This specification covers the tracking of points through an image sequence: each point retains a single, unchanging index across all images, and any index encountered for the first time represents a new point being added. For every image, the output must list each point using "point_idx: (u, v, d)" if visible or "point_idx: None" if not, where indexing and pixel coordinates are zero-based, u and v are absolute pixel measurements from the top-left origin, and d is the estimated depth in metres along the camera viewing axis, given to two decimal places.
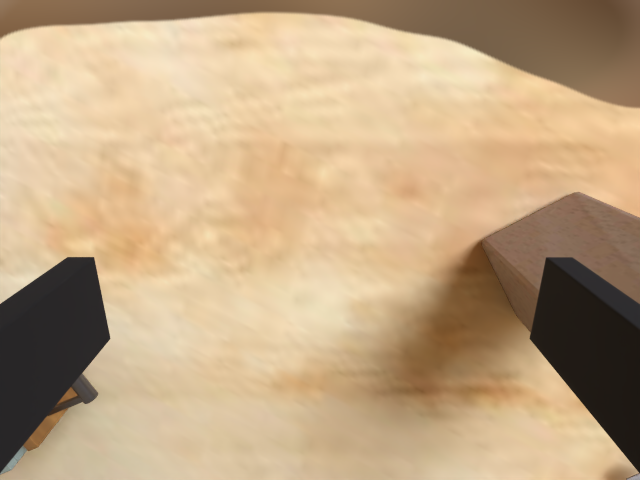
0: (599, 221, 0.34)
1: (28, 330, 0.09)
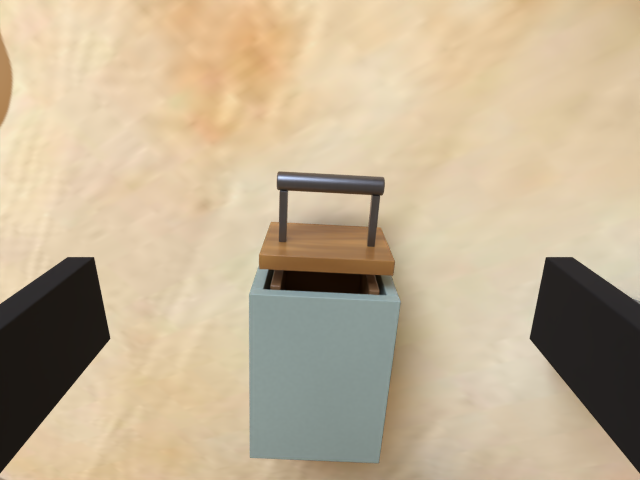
0: None
1: (28, 330, 0.09)
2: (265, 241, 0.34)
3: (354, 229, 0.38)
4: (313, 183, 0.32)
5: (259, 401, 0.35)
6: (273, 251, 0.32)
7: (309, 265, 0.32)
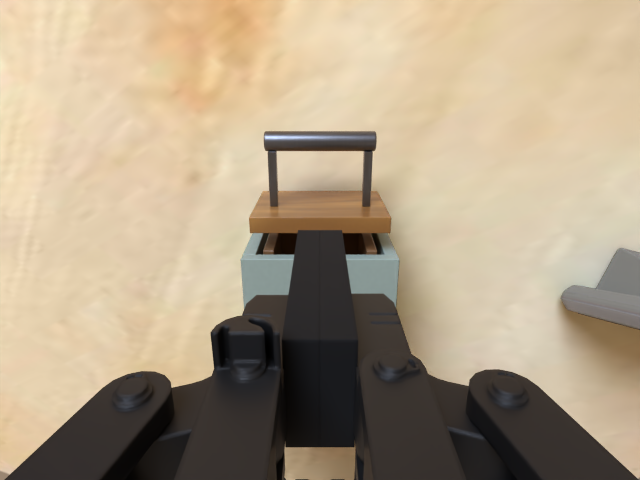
0: None
1: None
2: (256, 206, 0.33)
3: (349, 193, 0.36)
4: (302, 140, 0.30)
5: None
6: (264, 214, 0.31)
7: (302, 226, 0.30)
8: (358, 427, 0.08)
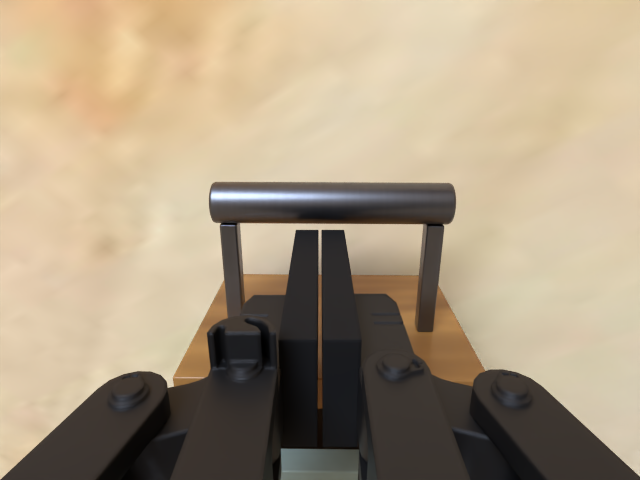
0: None
1: None
2: (200, 330, 0.16)
3: (383, 283, 0.20)
4: (292, 205, 0.14)
5: None
6: None
7: None
8: (362, 427, 0.08)
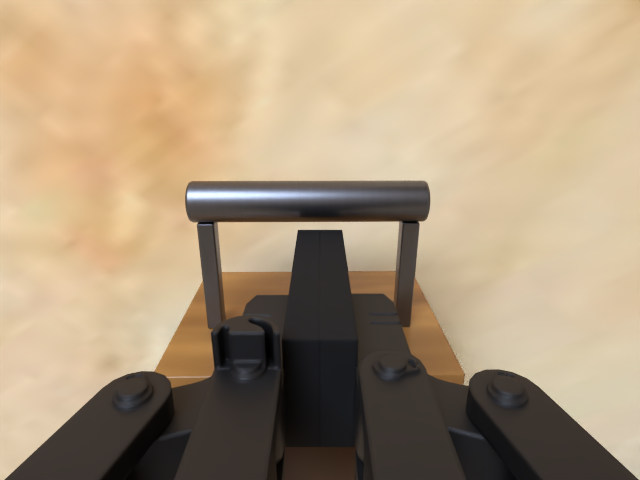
0: None
1: None
2: (179, 329, 0.16)
3: (363, 279, 0.20)
4: (269, 204, 0.14)
5: None
6: (189, 361, 0.14)
7: None
8: (358, 427, 0.08)
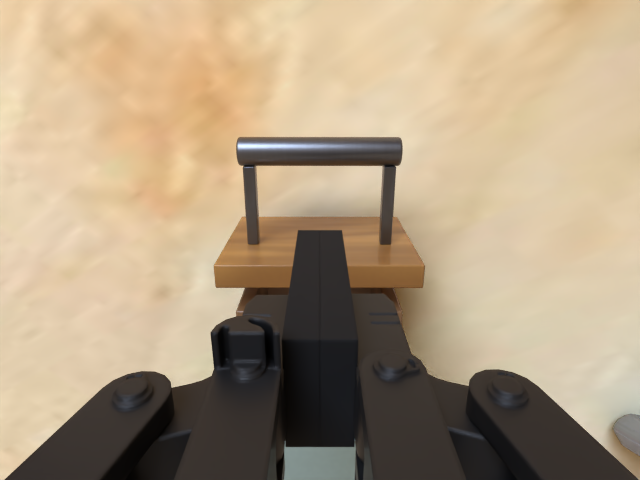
0: None
1: None
2: (227, 244, 0.23)
3: (359, 221, 0.27)
4: (293, 151, 0.21)
5: None
6: (237, 259, 0.21)
7: None
8: (358, 427, 0.08)
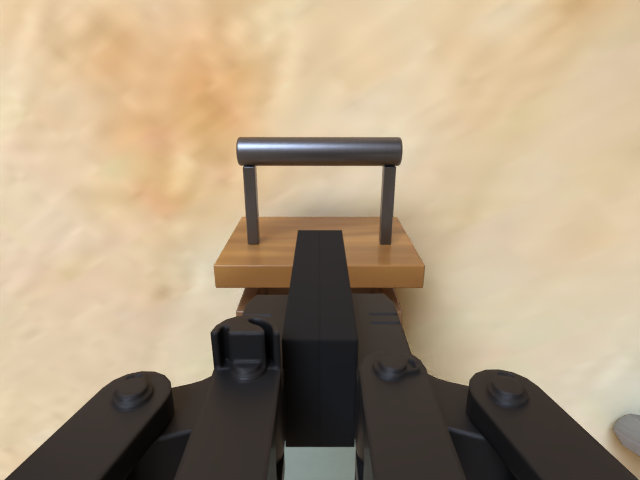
0: None
1: None
2: (227, 244, 0.23)
3: (359, 221, 0.27)
4: (292, 151, 0.21)
5: None
6: (237, 259, 0.21)
7: None
8: (358, 427, 0.08)
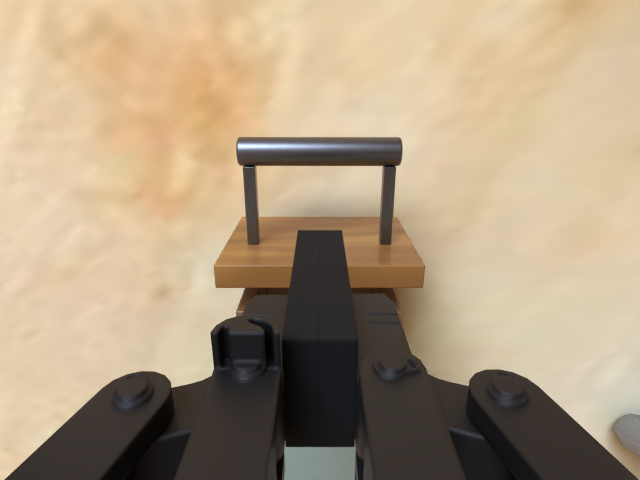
0: None
1: None
2: (228, 244, 0.23)
3: (359, 221, 0.27)
4: (292, 151, 0.21)
5: None
6: (237, 259, 0.21)
7: None
8: (358, 427, 0.08)
